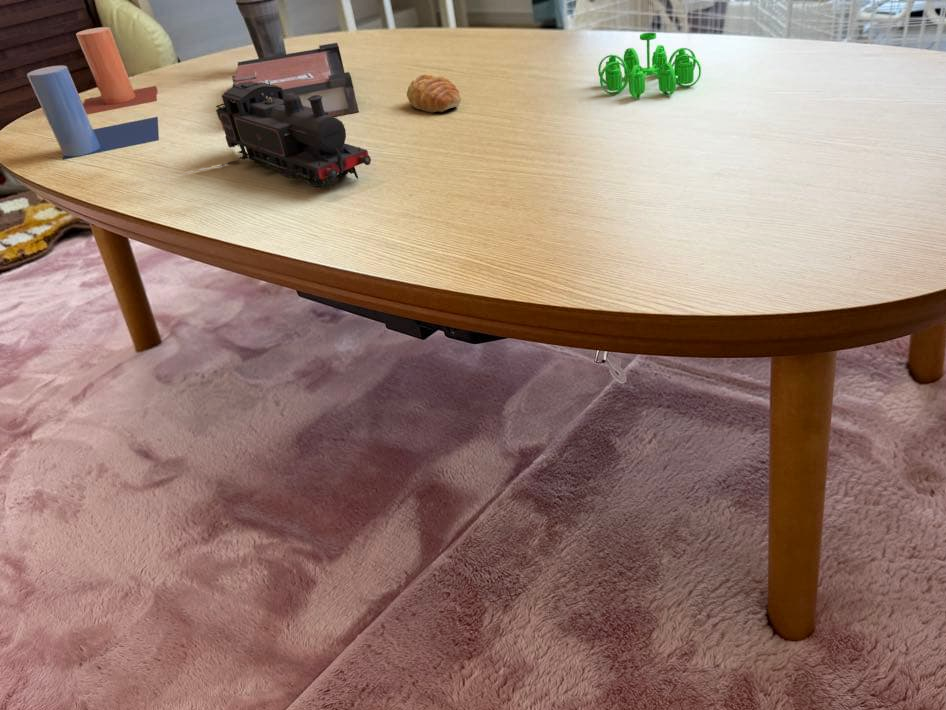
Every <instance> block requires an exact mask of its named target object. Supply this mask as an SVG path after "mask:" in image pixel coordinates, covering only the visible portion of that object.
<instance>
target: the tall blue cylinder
mask: <svg viewBox="0 0 946 710" xmlns="http://www.w3.org/2000/svg"><path fill="white" fill-rule="evenodd" d="M26 76H27V79H28V80H29V83H30V85H31V87H32V89H33V91H34V94H35V96H36V98H37V100H38V102H39V103H38V104H39V105H40V107H41V109H42V111H43V114H44V116H45V118H46V120H47V123H48V124H49V127H50V129H51V131H52V133H53V136H54V138H55V140H56V143H57V145H58V146H59V147H58V148H59V149H60V152H61V153H62V155H63V156H65V157H75V158H78V157H77V156H80V157H83V156H82V155H85V156H87V155H86V154H90V153H92V152H95V151H97V150H98V149H100V144H99V142H98V139H97V137H96V134H95V132H94V130H93V129H94V128H93V125H92V123H91V121H90V118H89V114H87V113H86V111H85V108H84V106H83V105H84V103H83V101H82V99H81V97H80V94H79V92H78V89H77V87H76V85H75V82H74V80H73V78H72V76H71V73H70V71H69V67H68V66H67V65H52V66H47V67H42V68H38V69H34V70H31V71H30V72H28V73H27V74H26ZM90 155H91V154H90Z"/></svg>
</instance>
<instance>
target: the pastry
mask: <svg viewBox="0 0 946 710" xmlns="http://www.w3.org/2000/svg"><path fill="white" fill-rule="evenodd" d="M406 98H407V100H408V102H409V104H410V105H411V106H413V107H414V108H415V109H417V110H421V111H424V112H427V113H432V114H433V113H436V112H440V113H443V112H444V111H447V110H449V109H451V108H456V107H459V106H460V104H461V102H462V97H461V95H460V91H459V89H458V88H457V86H456V85H455V84H454V83H452V81H451V80H450V79H449V78H445V77H444V76H435V75H432V74H427V73H426V74H421V75H419V76H417V77H416V78H415V79H413V80H411V83H410V84H409V85H408V87H407V91H406Z"/></svg>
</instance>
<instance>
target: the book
mask: <svg viewBox="0 0 946 710" xmlns="http://www.w3.org/2000/svg"><path fill="white" fill-rule="evenodd" d="M342 59H343V58H342V55H341V51H340V46H339V44H338V42H333V43H326V44H319V45H318V48H316V49H315V48H314V49H309V50H303V51H297V52H291V53H286V54H284V55H278V56H272V57H266V58H260V59H259V58H255V59H249V60H243V61H238V62H237V67H236V73H235V74H234V75H231V80H232V87H233V86H235V85H237V84H239V83H241V82H249V81H251V82H258V83H260V82H262V83H266V84H271V85H275V86H278V87H281V88H282V91H283V95H284V98H285V96H286V95H287V94H290V93H293V94H296V95H298V96H299V97H300V99H301V102H302V105H303V106H306V107H310V108H312V107H311V104H310V101H309V100H307V99H308V98H309V97H311V96H313V95H320V96H323V97H322V99H321V100H322V104H323V109H324V111H326V112H328V115H329V116H333V117H340V116H345V115H350V114H351V115H352V114H357V113H360V111H359V107H358V101H357V97H356V93H355V87H354V83H353V80H352V76H351V73H350V72H349V71H345V69H344V64H343V60H342ZM270 94H271V97H274V94H273V93H270Z"/></svg>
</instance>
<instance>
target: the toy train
mask: <svg viewBox="0 0 946 710" xmlns="http://www.w3.org/2000/svg"><path fill="white" fill-rule="evenodd" d="M270 93H273V94H274V97H271V94H270ZM322 97H323V96H320V95H313V96H311V97H309V98H308V99H307V100H309V101H310V104H311V107H312V108H310V107H306V106H303V105H302V102H301V99H300V97H299V96H298V95H296V94H293V93H290V94H287V95H286V96H285V98H284V95H283V91H282V88H281V87H278V86H275V85H271V84H266V83H262V82H260V83H258V82H251V81H249V82H241V83H239V84H237V85H235V86H233V85H232V86H231V87H230V88H229V89H228V90H226V91H225V92H223V93H222V94H221V99H222V102H223V103H220V104H217V105H215V107H216V108H217V109H216V115H217V118H218V119H219V121H220V123H221V125H222V129H223V133H224V134H225V141H226V143H227V147H229V148H234V147H236V146H239V148H240V150H239V151H237V154H242V156H240V157H238V159H240V160H243V161H244V160H251V161H252V162H253V163H254V164H255V165H256V166H258V167H265V166H266V167H268V168H271V169H274V170H277V171H279V172H280V173H281V174H282V175H283V176H285V177H289V178H291V179H294V178H298V179H301V180H304V181H306V182H307V184H309V186H311V187H319V186H324V185H325V181H324V179H326V180H327V183H328V187H329V189H330V190H333V188H332V181H331V178H332V179H335V178H336V177H338V175H339V176H342V177H345V176H347V175H348V174H353V175H354V177H355V178H356V179H359V176H358V173H357V170H356V167H357V166H360V165H362V164H364V165H365V166H369V165H370V164H371V161H372V158H371V156H370V155H369V150H367V149H366V148H362V147H360V146H355V145H351V144H348V143H346V139H347V133H346V127H345V124H344V123H343V121H341V120H340V119H339V118H337V117H336V116H334V117H333V116H329V115H328V112H326V111H324V109H323V104H322V100H321V99H322ZM269 159H270V160H273V161H274V162H272V161H269ZM296 169H299V170H300V171H297V170H296Z"/></svg>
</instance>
